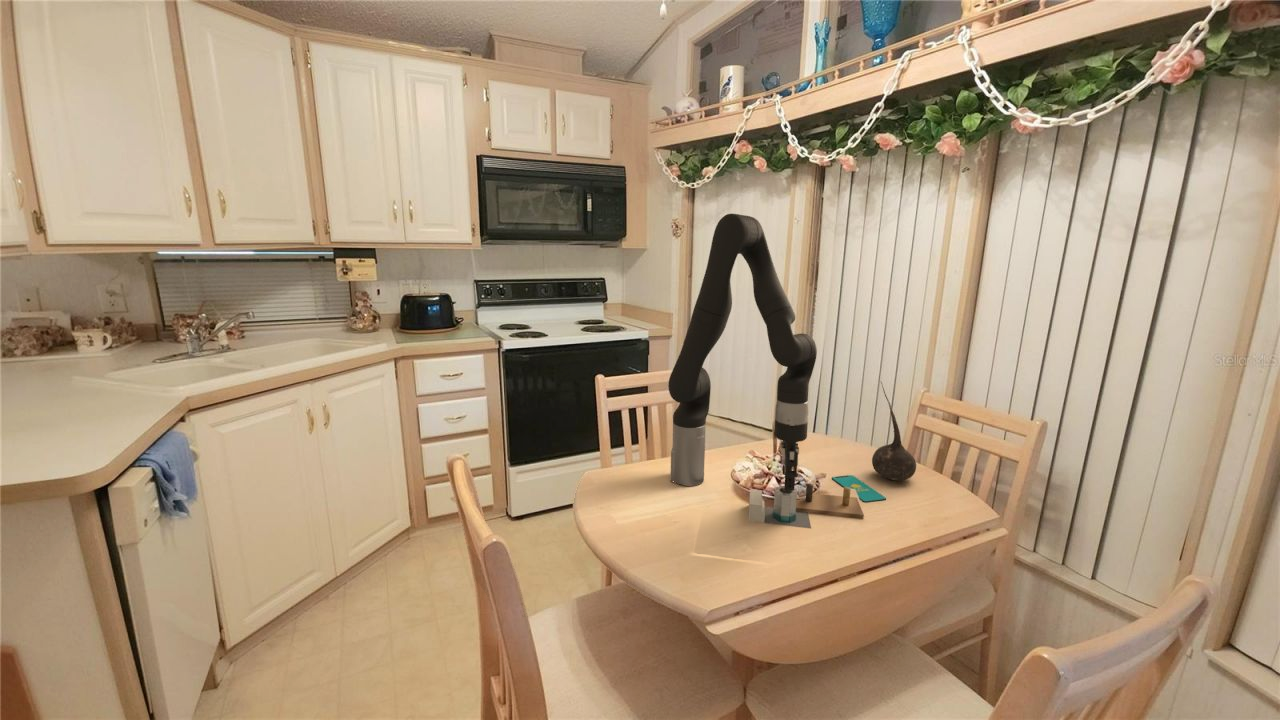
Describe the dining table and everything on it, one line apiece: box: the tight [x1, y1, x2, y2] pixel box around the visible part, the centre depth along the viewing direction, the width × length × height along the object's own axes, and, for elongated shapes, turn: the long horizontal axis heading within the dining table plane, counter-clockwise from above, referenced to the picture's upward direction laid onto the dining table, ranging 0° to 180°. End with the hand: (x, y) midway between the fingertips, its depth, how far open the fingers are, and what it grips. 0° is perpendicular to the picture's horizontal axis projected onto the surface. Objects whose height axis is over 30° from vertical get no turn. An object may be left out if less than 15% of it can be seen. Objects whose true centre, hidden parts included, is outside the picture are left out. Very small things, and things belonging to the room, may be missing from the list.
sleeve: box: [772, 485, 798, 523], centre depth 124 cm, size 5×5×7 cm
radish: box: [871, 380, 917, 482], centre depth 145 cm, size 11×14×30 cm
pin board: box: [796, 482, 865, 519], centre depth 130 cm, size 16×9×6 cm, turn 77°
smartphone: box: [831, 474, 887, 504], centre depth 141 cm, size 7×1×15 cm
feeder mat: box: [748, 488, 812, 529], centre depth 125 cm, size 14×8×5 cm, turn 77°
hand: (787, 482), depth 123 cm, fingers open, 8 cm apart
